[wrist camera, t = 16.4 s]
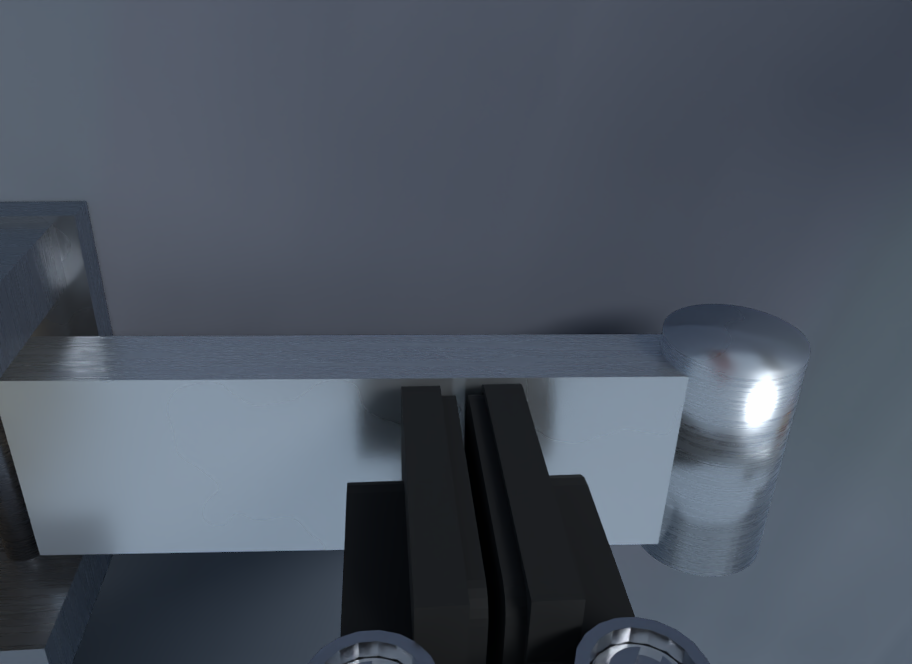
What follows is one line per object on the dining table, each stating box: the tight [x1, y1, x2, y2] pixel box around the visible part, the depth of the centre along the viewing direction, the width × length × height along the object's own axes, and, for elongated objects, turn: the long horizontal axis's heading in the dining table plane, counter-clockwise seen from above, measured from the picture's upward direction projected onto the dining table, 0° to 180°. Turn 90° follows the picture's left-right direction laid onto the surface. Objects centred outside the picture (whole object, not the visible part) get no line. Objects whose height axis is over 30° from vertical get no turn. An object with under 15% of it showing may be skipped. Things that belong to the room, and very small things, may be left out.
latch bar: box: [0, 304, 811, 577], centre depth 12 cm, size 11×4×2 cm, turn 89°
